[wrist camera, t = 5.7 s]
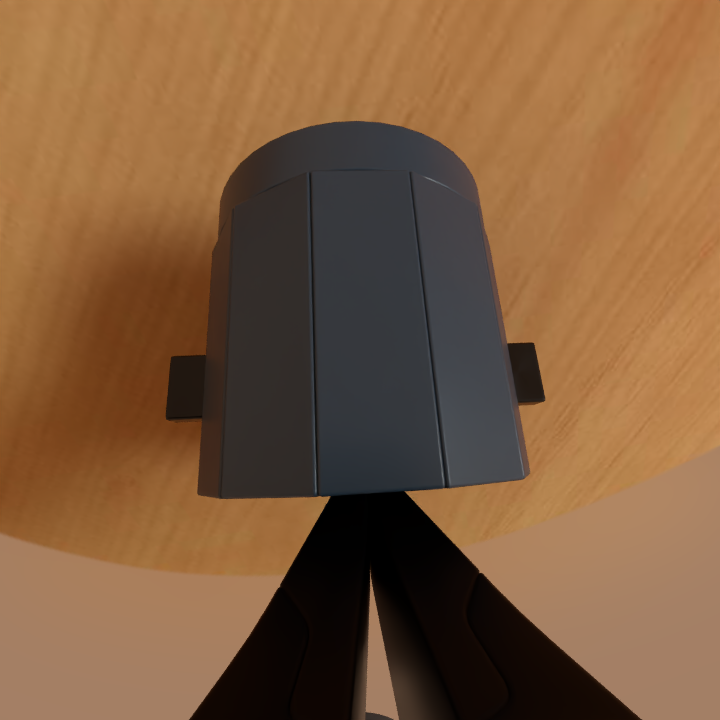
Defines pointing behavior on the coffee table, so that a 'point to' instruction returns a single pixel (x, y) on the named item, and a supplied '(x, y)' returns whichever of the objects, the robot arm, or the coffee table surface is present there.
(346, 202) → the pot
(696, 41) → the coffee table surface
